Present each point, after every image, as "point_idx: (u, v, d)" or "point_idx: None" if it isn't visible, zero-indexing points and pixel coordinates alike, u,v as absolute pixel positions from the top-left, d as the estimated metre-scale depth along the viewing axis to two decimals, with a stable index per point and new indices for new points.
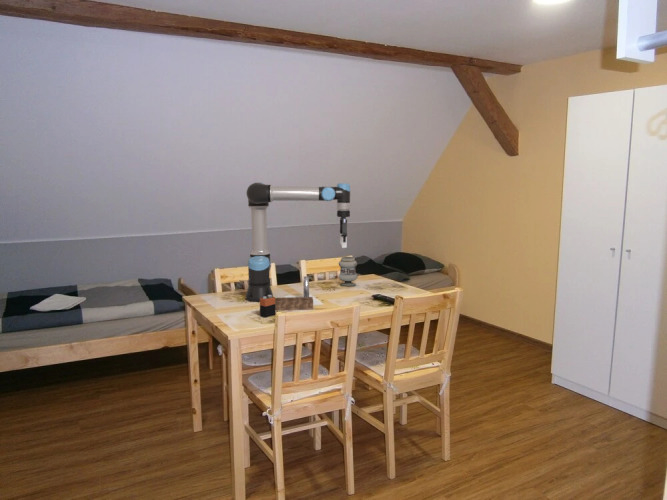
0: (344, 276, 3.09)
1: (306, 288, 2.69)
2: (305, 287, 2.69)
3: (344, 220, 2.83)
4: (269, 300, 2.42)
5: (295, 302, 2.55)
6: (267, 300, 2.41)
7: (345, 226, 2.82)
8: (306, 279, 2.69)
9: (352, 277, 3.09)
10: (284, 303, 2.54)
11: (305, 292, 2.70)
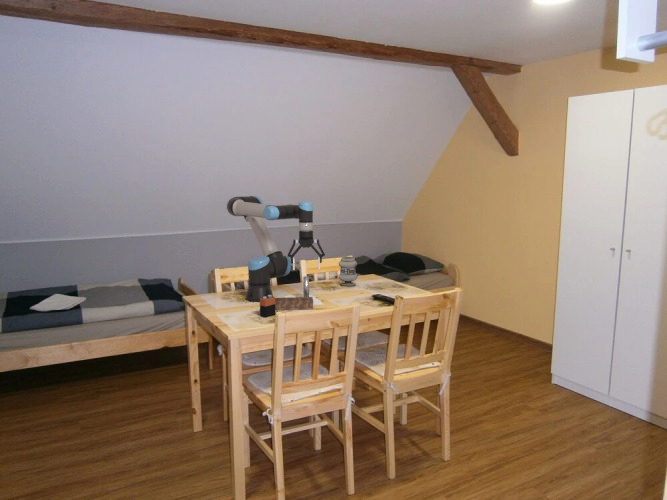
0: (344, 276, 3.09)
1: (306, 288, 2.69)
2: (305, 287, 2.69)
3: (293, 240, 2.66)
4: (269, 300, 2.42)
5: (295, 302, 2.55)
6: (267, 300, 2.41)
7: (291, 247, 2.66)
8: (306, 279, 2.69)
9: (352, 277, 3.09)
10: (284, 303, 2.54)
11: (305, 292, 2.70)
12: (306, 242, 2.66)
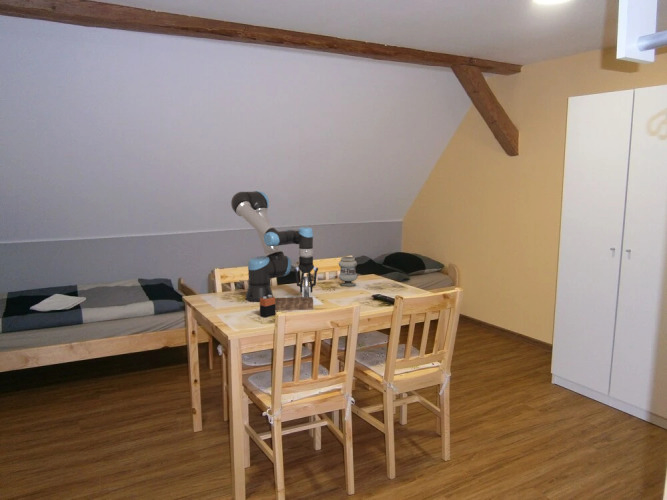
0: (344, 276, 3.09)
1: (306, 288, 2.69)
2: (305, 287, 2.69)
3: (294, 269, 2.69)
4: (269, 300, 2.42)
5: (295, 302, 2.55)
6: (267, 300, 2.41)
7: None
8: (306, 279, 2.69)
9: (352, 277, 3.09)
10: (284, 303, 2.54)
11: (305, 292, 2.70)
12: (306, 267, 2.68)
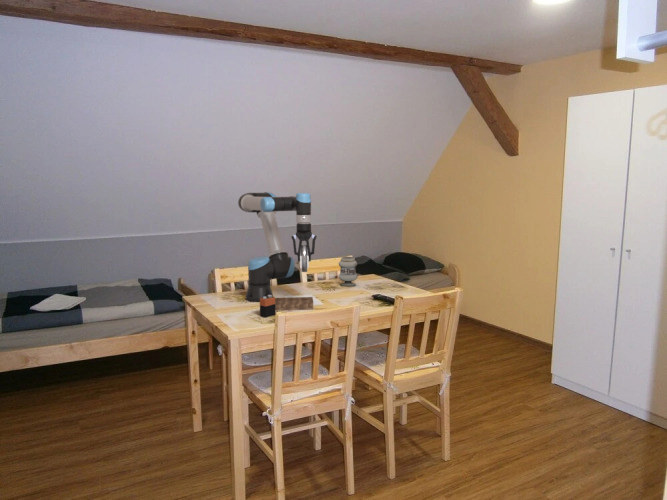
0: (344, 276, 3.09)
1: (304, 257, 2.57)
2: (303, 256, 2.57)
3: (291, 237, 2.56)
4: (269, 300, 2.42)
5: (295, 302, 2.55)
6: (267, 300, 2.41)
7: (293, 244, 2.57)
8: (304, 247, 2.57)
9: (352, 277, 3.09)
10: (284, 303, 2.54)
11: (303, 261, 2.58)
12: (304, 234, 2.56)
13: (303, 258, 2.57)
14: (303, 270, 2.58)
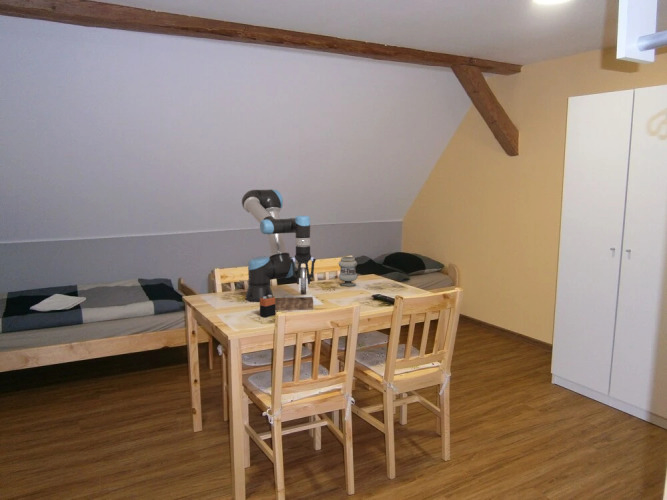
0: (344, 276, 3.09)
1: (303, 279, 2.56)
2: (302, 278, 2.56)
3: (290, 260, 2.56)
4: (269, 300, 2.42)
5: (295, 302, 2.55)
6: (267, 300, 2.41)
7: (292, 267, 2.56)
8: (303, 270, 2.56)
9: (352, 277, 3.09)
10: (284, 303, 2.54)
11: (302, 284, 2.57)
12: (303, 257, 2.55)
13: (302, 281, 2.56)
14: (302, 293, 2.57)
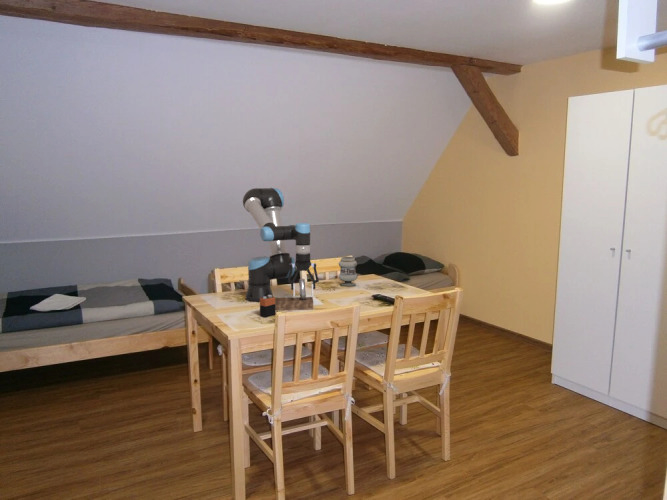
0: (344, 276, 3.09)
1: (302, 291, 2.57)
2: (301, 290, 2.57)
3: (289, 265, 2.56)
4: (269, 300, 2.42)
5: (295, 302, 2.55)
6: (267, 300, 2.41)
7: (289, 272, 2.56)
8: (302, 282, 2.57)
9: (352, 277, 3.09)
10: (284, 303, 2.54)
11: (302, 295, 2.58)
12: (303, 265, 2.56)
13: (301, 292, 2.57)
14: None
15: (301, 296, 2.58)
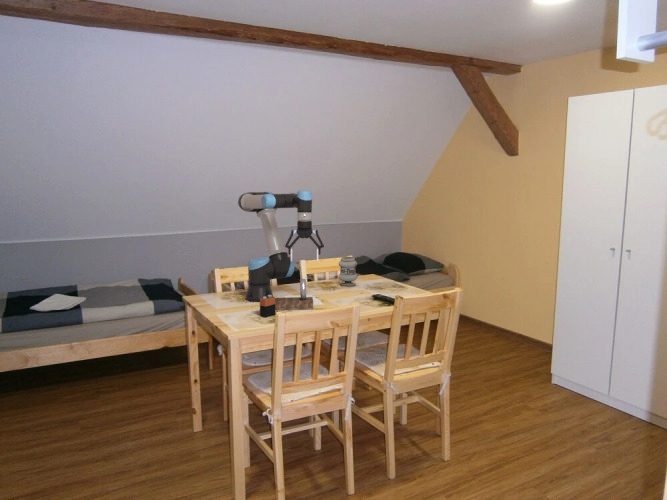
0: (344, 276, 3.09)
1: (303, 291, 2.58)
2: (302, 290, 2.58)
3: (291, 230, 2.57)
4: (269, 300, 2.42)
5: (295, 302, 2.55)
6: (267, 300, 2.41)
7: (289, 237, 2.57)
8: (303, 281, 2.57)
9: (352, 277, 3.09)
10: (284, 303, 2.54)
11: (302, 295, 2.58)
12: (304, 233, 2.56)
13: (302, 292, 2.58)
14: None
15: (301, 296, 2.58)
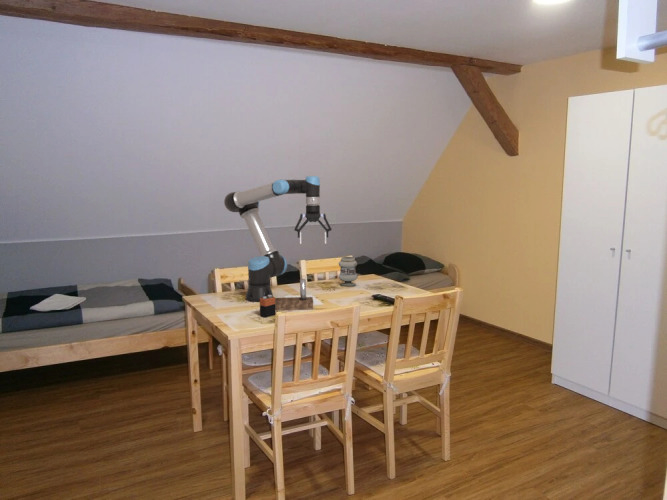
0: (344, 276, 3.09)
1: (303, 291, 2.57)
2: (302, 290, 2.57)
3: (300, 214, 2.69)
4: (269, 300, 2.42)
5: (295, 302, 2.55)
6: (267, 300, 2.41)
7: (298, 221, 2.69)
8: (303, 282, 2.57)
9: (352, 277, 3.09)
10: (284, 303, 2.54)
11: (302, 295, 2.58)
12: (313, 216, 2.69)
13: (302, 292, 2.57)
14: None
15: (301, 296, 2.58)
